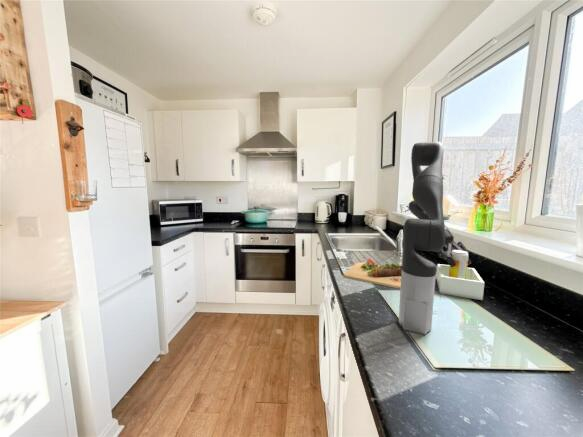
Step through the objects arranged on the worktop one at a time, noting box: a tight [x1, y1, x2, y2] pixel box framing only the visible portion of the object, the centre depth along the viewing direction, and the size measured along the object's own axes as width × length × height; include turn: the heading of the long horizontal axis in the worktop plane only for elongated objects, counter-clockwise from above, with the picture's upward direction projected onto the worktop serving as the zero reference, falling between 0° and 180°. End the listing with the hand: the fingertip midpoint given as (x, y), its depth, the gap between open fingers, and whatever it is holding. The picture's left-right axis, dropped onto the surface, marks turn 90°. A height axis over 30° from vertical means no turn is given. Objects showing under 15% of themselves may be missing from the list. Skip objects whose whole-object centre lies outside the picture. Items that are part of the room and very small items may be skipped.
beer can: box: [449, 249, 469, 279], centre depth 103 cm, size 6×6×15 cm
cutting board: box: [343, 258, 402, 290], centre depth 116 cm, size 35×23×8 cm
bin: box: [435, 263, 485, 301], centre depth 103 cm, size 18×14×7 cm
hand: (461, 265), depth 101 cm, fingers open, 8 cm apart
